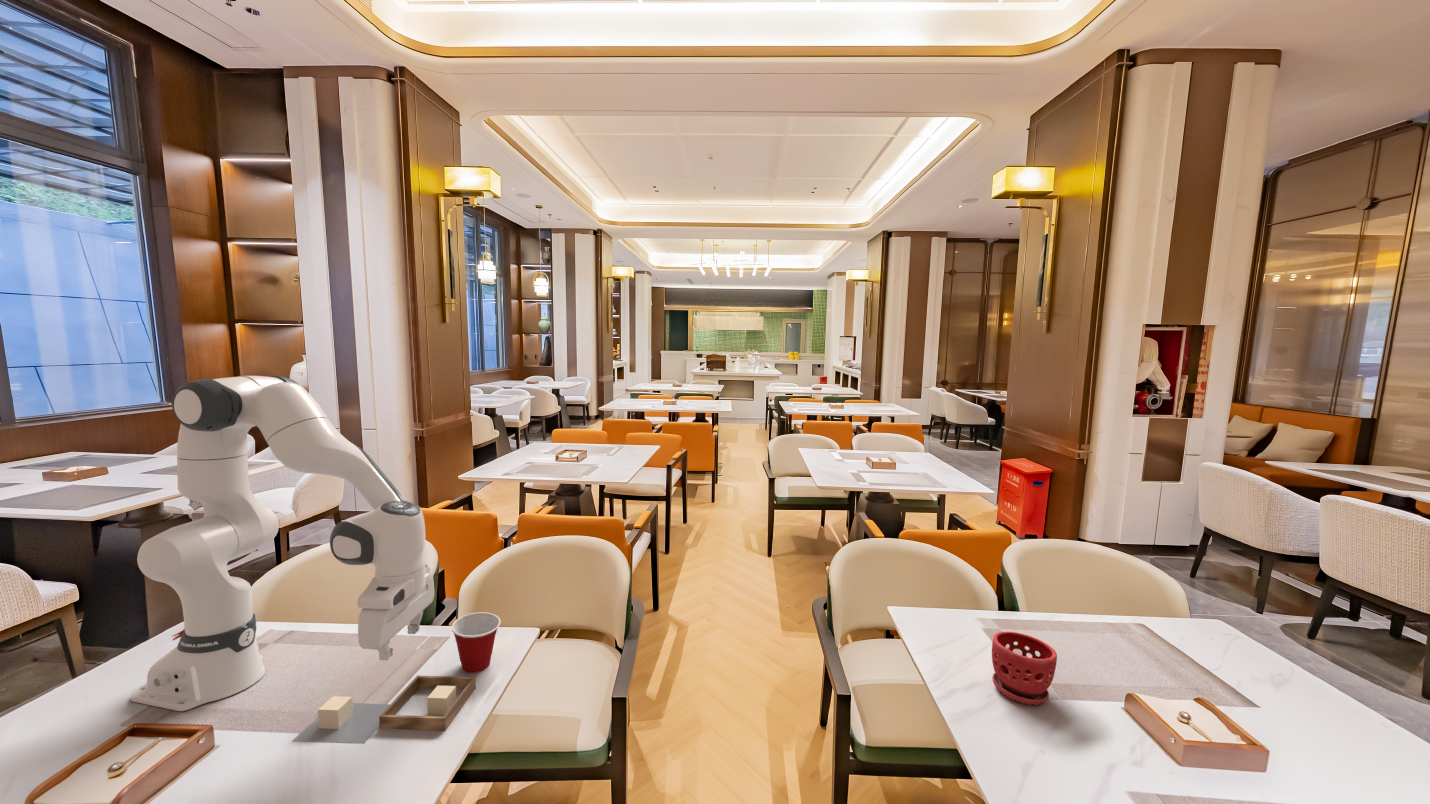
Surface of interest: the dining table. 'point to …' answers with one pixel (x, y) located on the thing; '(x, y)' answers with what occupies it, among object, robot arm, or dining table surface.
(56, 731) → the dining table surface
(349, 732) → the slate board
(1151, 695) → the dining table surface
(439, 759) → the dining table surface
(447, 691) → the beige block
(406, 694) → the walnut bin
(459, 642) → the plastic cup
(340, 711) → the cream wooden cube
